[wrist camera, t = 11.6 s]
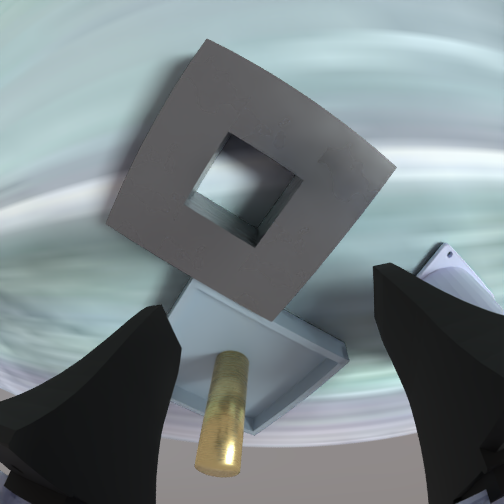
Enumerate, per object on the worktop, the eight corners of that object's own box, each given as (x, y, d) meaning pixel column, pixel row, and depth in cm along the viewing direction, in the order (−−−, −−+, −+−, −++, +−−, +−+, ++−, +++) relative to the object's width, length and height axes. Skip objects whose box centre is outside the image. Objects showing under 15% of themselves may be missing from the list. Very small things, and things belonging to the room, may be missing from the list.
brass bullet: (245, 349, 23) (234, 460, 14) (251, 372, 25) (243, 477, 15) (211, 351, 24) (188, 458, 15) (219, 374, 25) (202, 476, 16)
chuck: (378, 159, 17) (396, 167, 15) (271, 296, 22) (271, 322, 19) (216, 50, 15) (206, 38, 12) (125, 208, 20) (105, 223, 17)
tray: (344, 342, 24) (349, 361, 22) (255, 418, 28) (254, 435, 26) (200, 261, 21) (194, 276, 19) (137, 364, 26) (130, 380, 24)
